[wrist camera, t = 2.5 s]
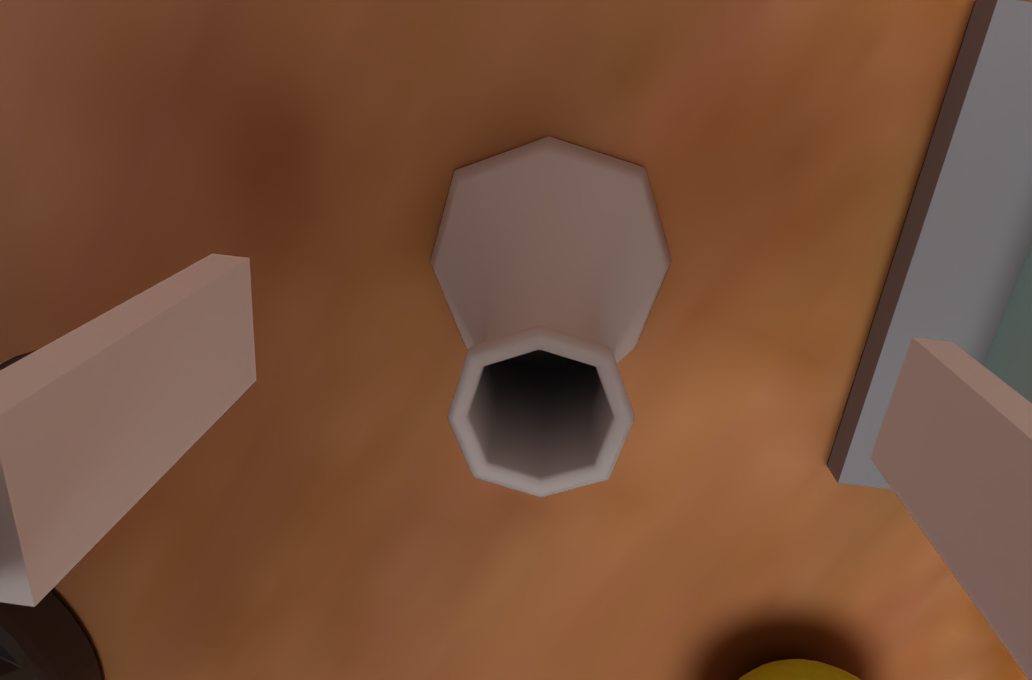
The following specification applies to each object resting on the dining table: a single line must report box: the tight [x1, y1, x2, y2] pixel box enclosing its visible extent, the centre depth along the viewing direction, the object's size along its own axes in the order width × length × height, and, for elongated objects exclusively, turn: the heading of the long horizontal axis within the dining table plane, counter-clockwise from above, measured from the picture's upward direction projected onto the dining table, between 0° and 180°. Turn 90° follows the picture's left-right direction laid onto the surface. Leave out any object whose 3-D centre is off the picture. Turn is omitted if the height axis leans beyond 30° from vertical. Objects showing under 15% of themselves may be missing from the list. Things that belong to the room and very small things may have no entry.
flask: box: [430, 136, 672, 497], centre depth 16 cm, size 7×7×10 cm
